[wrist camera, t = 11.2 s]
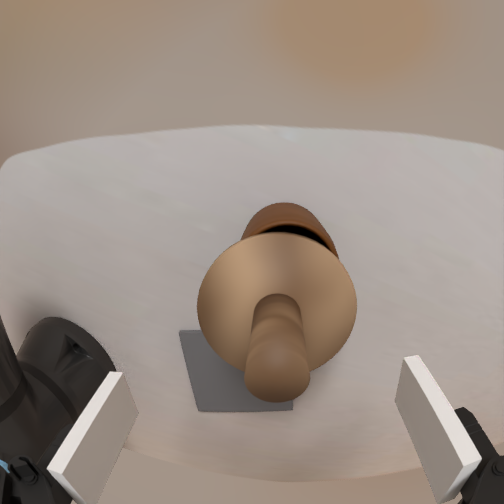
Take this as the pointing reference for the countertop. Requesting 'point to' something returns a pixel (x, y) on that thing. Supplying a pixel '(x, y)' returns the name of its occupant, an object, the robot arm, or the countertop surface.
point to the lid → (277, 311)
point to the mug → (289, 223)
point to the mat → (219, 380)
